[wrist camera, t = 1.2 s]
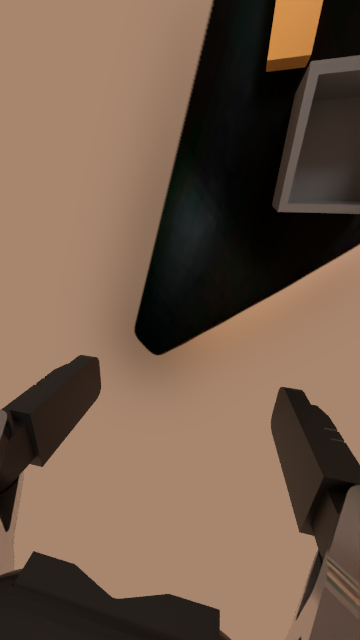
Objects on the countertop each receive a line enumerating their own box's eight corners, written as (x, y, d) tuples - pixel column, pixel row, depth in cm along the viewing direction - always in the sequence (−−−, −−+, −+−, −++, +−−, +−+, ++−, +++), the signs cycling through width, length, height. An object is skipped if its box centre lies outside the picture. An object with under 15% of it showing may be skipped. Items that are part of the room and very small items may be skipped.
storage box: (294, 94, 24) (311, 61, 17) (414, 83, 21) (485, 39, 15) (271, 205, 30) (277, 211, 23) (362, 207, 27) (397, 214, 21)
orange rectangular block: (284, -56, 19) (289, -91, 17) (334, -69, 18) (346, -107, 16) (265, 72, 24) (267, 60, 21) (304, 68, 23) (311, 54, 20)
